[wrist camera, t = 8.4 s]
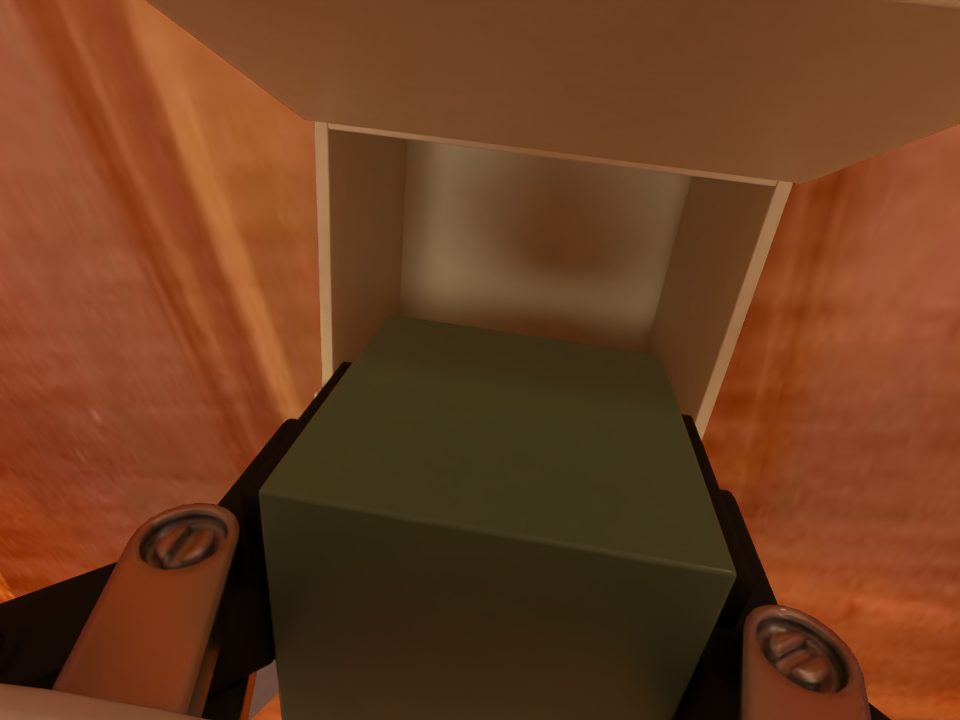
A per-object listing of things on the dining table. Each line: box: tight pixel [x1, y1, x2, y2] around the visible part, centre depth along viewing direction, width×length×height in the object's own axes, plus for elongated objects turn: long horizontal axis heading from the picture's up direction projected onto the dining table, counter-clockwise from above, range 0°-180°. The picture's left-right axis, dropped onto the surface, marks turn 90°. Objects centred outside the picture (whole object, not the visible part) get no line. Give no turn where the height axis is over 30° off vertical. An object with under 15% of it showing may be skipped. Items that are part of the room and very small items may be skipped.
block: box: [259, 315, 736, 720], centre depth 9 cm, size 5×5×5 cm
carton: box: [314, 121, 793, 441], centre depth 22 cm, size 17×13×10 cm
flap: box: [146, 0, 960, 184], centre depth 10 cm, size 8×13×1 cm
